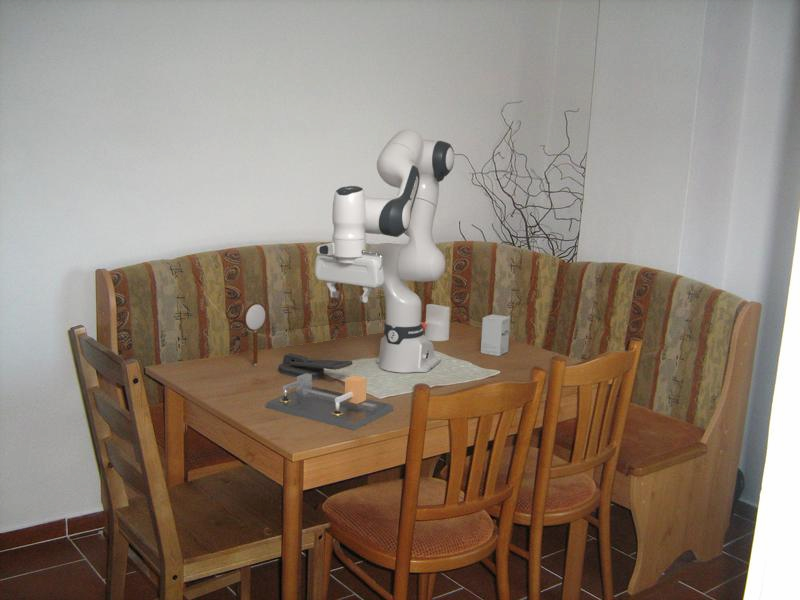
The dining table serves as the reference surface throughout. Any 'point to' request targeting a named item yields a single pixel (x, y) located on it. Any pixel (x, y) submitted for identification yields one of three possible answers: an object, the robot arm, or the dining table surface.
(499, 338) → the supplement box
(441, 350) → the dining table surface
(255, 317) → the magnifying glass
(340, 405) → the plate
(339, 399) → the leg
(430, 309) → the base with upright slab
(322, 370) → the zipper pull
